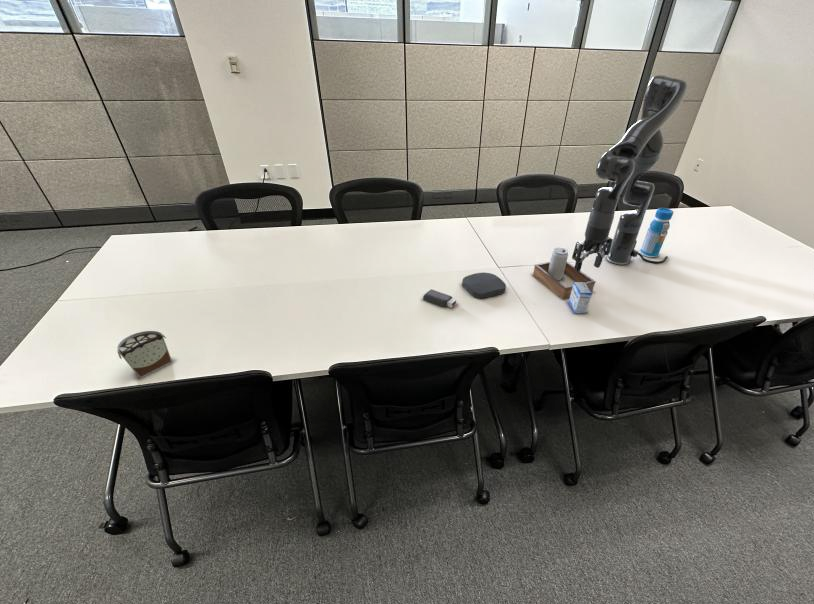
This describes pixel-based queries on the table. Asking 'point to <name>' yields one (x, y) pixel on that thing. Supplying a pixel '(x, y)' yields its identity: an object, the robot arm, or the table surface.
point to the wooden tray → (555, 285)
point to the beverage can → (558, 263)
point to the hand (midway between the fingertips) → (586, 268)
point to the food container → (144, 352)
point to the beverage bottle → (656, 233)
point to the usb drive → (439, 298)
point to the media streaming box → (483, 285)
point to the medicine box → (580, 297)
